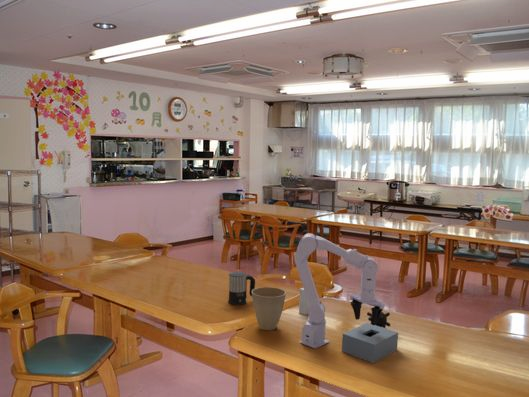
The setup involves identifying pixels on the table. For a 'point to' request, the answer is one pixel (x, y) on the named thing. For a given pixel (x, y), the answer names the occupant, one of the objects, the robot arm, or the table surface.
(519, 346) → the table surface
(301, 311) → the skincare box
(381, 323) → the toy ball
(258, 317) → the plant pot
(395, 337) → the grey square hole block
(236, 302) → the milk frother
